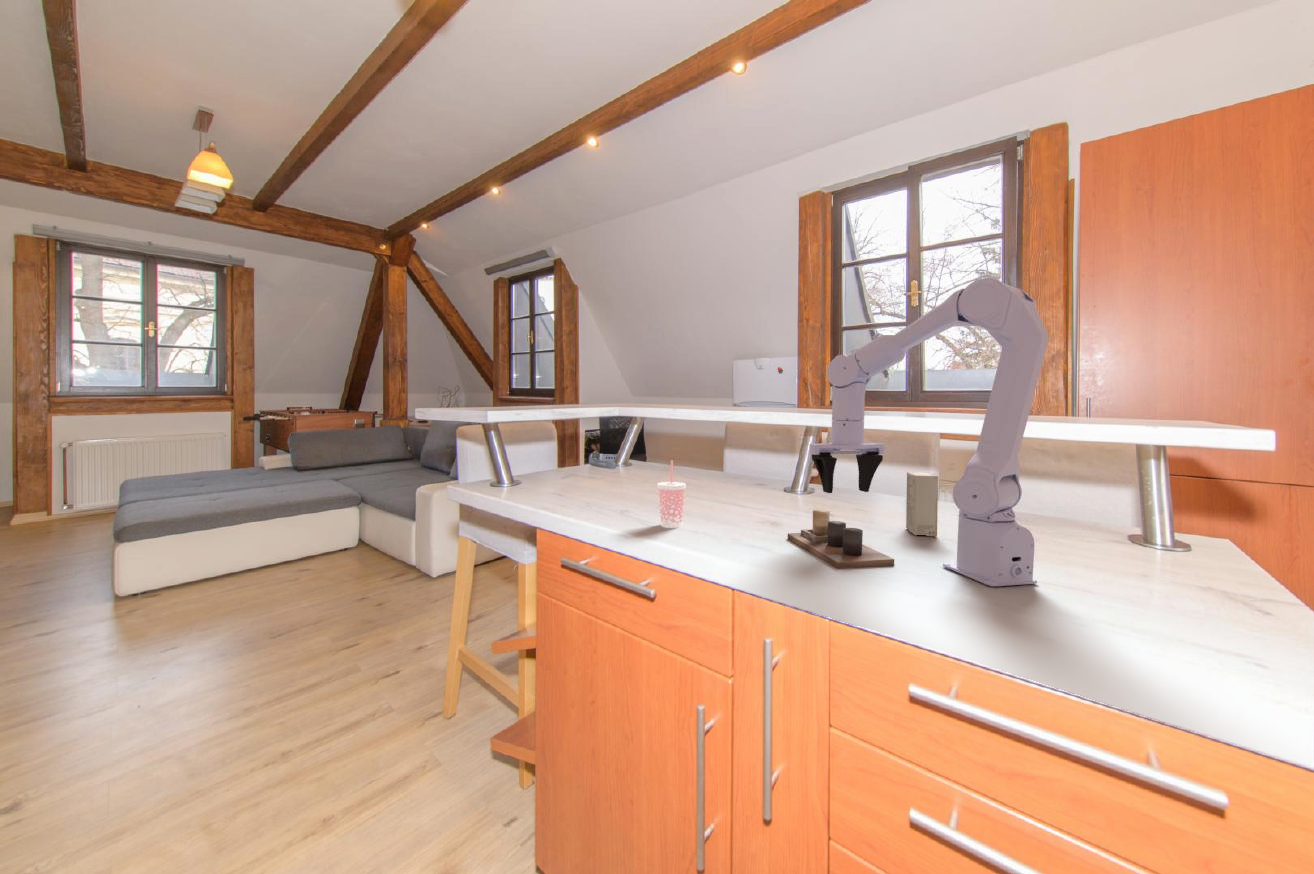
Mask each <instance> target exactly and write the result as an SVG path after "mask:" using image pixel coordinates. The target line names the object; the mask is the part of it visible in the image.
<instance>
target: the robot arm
mask: <svg viewBox="0 0 1314 874" xmlns="http://www.w3.org/2000/svg"><path fill="white" fill-rule="evenodd" d="M953 327H979V328H982V329H984V330H985V331H987V333H988V334H989V335H990V336H991V337H992V338H993V339H994V340H995V341H996V342H997V344H999V346H1000V347H1001V352H1000V355H999V359H998V364H997V367H996V371H995V376H994V379H993V383H992V388H991V390H990V396H989V399H988V403H987V408H986V412H985V415H984V420H983V423H982V427H981V432H980V436H979V440H978V444H977V446H976V451H975V452H974V454H973V456H971V458H970V460H969V461H968V463H967V464H966V466H965V470H964V473H963V475H962V477H961V478H959V480H958V481H957V482H955V484H954V486H953V489H952V499H953V502H954V504H955V505H956V507H957V509H958V524H957V544H956V545H957V546H956V549H957V550H956V562H944V563H942V566H943V568H946V569H949V570H951V571H954V572H955V573H958V574H961V575H963V576H965V577H968V578H970V579H973V580H975V581H977V582H980V583H982V584H984V585H987V586H988V587H1005V586H1006V587H1007V586H1017V585H1018V586H1019V585H1033V584H1038V580H1037V579H1035V578H1034V562H1035V561H1034V559H1035V539H1034V536H1033V534H1032V532H1031V531H1030V530H1029V529H1028V528H1026V527H1024V526H1022V525H1020V524H1019V523H1018V522H1017V521H1016V514H1015V512H1014V509H1013V508H1015V507H1016V506H1017V505H1018V504H1019V503H1020V501H1021V498H1022V493H1023V491H1022V487H1021V484H1020V474H1021V466H1020V462H1019V459H1018V457H1019V453H1020V449H1021V445H1022V442H1023V438H1024V434H1025V430H1026V427H1027V424H1028V420H1029V416H1030V413H1031V408H1032V405H1033V400H1034V397H1035V393H1036V389H1037V385H1038V381H1039V378H1040V375H1041V371H1042V368H1043V364H1044V360H1045V355H1046V352H1047V349H1048V345H1049V337H1050V336H1049V332H1048V330H1047V328H1046V326H1045V323H1044V322H1043V319H1042V316H1040V313H1039V311H1038V309H1037V301H1036V299H1034V298H1033V297H1031V296H1030V295H1029V294H1028V293H1027V292H1025V291H1024V290H1023V289H1021V288H1019V287H1017V286H1011V285H1009V284H1007V283H1004V282H1002V281H1001V280H999V279H996V278H993V277H983V278H982V277H981V278H979V279H976V280H973V281H972V282H971V283H969V284H968V285H967V286H966V287H965V288H964V287H963V288H960V289H958V290H955V291H954V292H953V293H951V294H950V296H948V298H946V299H945V300H944V301H943V302H941V303H939V304H938V305H936V306H935V307H933V308H932V309H931V310H929V311H927V312H926V313H924V314H923V315H921V316H920V317H918V318H917V319H916V320H914V321H913V322H911V323H910V324H908V325H907V326H906V327H904V328H902V329H901V330H900V331H898V332H897V333H891V332H883V333H879V332H878V333H875V334H873V336H872V340H870V341H869V342H867V343H866V344H864V345H862V346H861V347H859V348H853V349H852V350H850V354H848V355H846V354H837V355H836V356H835V357H834V358H833V359H832V360H831V361H830V362H829V364H828V366H827V369H826V377H827V380H828V382H830V384H831V385H832V396H831V397H832V400H831V401H832V404H831V407H832V408H831V410H832V411H831V437H830V438H831V440H830V441H831V442H824V443H821V442H819V443H809V455H811V460H812V461H813V463H814V466H815V468H816V471H817V472H818V475H819V478H820V481H821V486H822V490H823V492H824V493H827V494H833V490H834V489H833V488H834V474H835V469H836V463H837V460H838V458H837V457H833V455H849V454H850V455H851V454H853V455H855V457H856V463H857V467H858V490H859V491H861V492H864V493H869V491H870V488H871V484H872V482H873V479H874V476H875V473H876V472H877V470H878V468H879V466H880V465H881V463H882V462H883V459H884V457H883V454H885V443H882V442H881V443H880V442H864V439H865V438H864V437H865V435H864V434H865V433H864V432H865V404H866V393H867V391H866V390H867V389H866V388H867V386H868V384H869V383H870V381H871V380H872V378H873V377H875V376H876V375H879V374H880V373H883V372H884V371H885V370H888V369H889V368H891V367H893V366H895V365H896V364H898V363H900V362H902V361H904V359H905V356H906V353H907V350H910V349H911V348H913V347H916V346H917V345H919V344H921V343H923V342H926V341H927V340H929V339H931V338H933V337H935V336H937V335H939V334H941V333H943V332H945V331H947V330H949V329H951V328H953Z"/></svg>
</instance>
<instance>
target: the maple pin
mask: <svg viewBox="0 0 1314 874" xmlns="http://www.w3.org/2000/svg"><path fill="white" fill-rule="evenodd" d="M830 514H831V513H830V510H828V509H818V508H817V509H812V529H813V534H814V535H816V536H828V522H829V521H830Z"/></svg>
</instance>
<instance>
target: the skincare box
mask: <svg viewBox="0 0 1314 874" xmlns="http://www.w3.org/2000/svg"><path fill="white" fill-rule="evenodd" d="M938 496H939V475H937V474H933V473H931V472H913V471H912V472H910V471H907V472H906V503H905V504H906V508H905V509H906V513H905V515H906V517H905V518H906V519H905V521H906V522H905V529H906V528H907V529H908V530H909V531H908V530H907V529H906V530H907V531H908V532H910V533H911V532H912V533H913V534H912V533H911V534H912V535H913V536H917V535H926V536H925V537H938V511H939V509H938V507H939V505H938V504H939V503H938V500H939V497H938Z"/></svg>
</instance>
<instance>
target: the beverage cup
mask: <svg viewBox="0 0 1314 874" xmlns="http://www.w3.org/2000/svg"><path fill="white" fill-rule="evenodd" d="M656 485H657V489H658V498H659V499H658V500H659V504H658V505H659V519H660V526H661V527H663V528H667V529H678V528H681V527H682V526H683V519H684V506H685V505H684V503H685V502H684V501H685V491H686V490H685V489H686V488H687V484H686V483H685V482H682V481H674V460H672V459H671V460H670V481H661V482H658V483H657V484H656Z"/></svg>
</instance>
